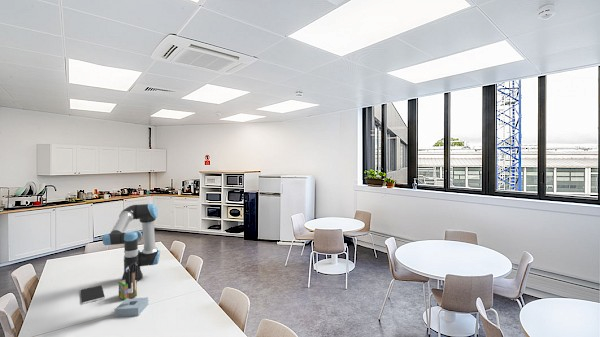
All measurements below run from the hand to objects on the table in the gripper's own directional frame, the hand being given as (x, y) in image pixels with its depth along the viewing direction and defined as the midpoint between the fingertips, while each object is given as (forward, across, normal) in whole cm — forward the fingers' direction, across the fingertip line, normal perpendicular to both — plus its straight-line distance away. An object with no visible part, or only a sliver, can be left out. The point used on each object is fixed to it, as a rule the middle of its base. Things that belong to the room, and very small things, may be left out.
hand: (131, 291), depth 184 cm
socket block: (+13, 0, 0) cm, 13 cm away
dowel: (+4, 0, 0) cm, 4 cm away
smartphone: (+13, -27, -41) cm, 51 cm away
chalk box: (+13, -21, -13) cm, 28 cm away
